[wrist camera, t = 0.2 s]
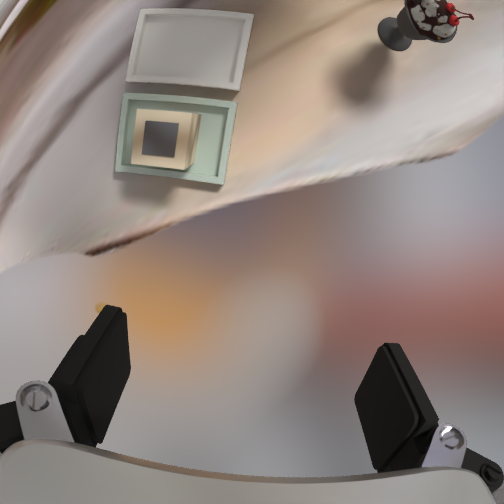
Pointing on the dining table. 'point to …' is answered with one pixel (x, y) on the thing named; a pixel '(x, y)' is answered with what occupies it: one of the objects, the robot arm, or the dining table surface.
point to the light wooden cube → (165, 138)
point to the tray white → (190, 47)
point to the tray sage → (209, 138)
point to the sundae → (420, 23)
